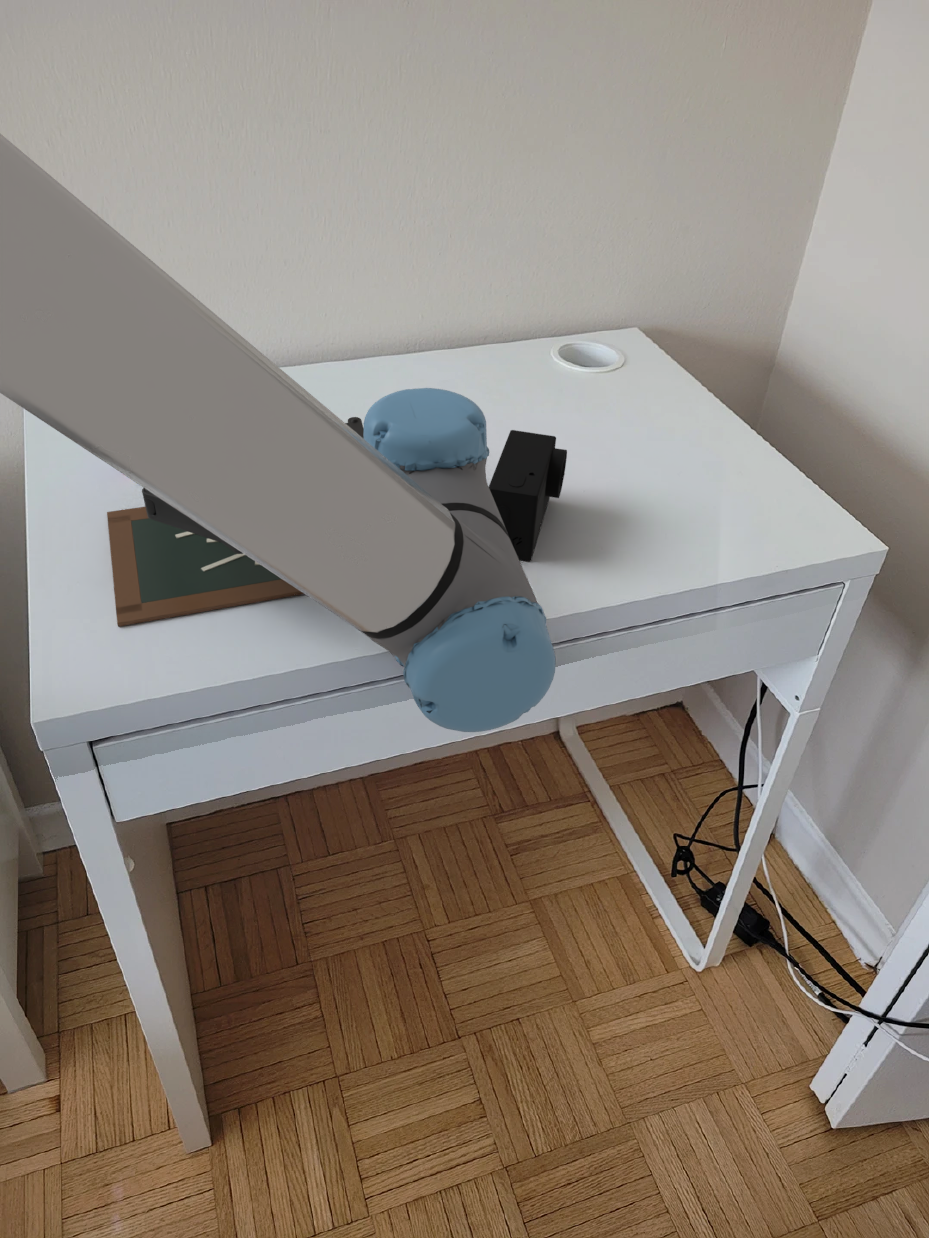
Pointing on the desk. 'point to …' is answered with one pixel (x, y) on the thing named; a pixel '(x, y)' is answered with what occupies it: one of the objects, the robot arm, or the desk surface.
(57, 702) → the desk surface
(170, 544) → the chalkboard
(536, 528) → the digital camera
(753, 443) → the desk surface
